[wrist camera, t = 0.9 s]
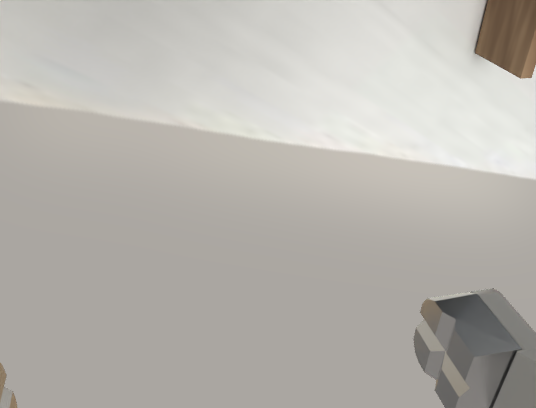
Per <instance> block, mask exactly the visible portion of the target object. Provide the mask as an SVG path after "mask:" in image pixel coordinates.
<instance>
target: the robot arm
mask: <svg viewBox="0 0 536 408" xmlns="http://www.w3.org/2000/svg"><path fill="white" fill-rule="evenodd" d="M420 313H421V315H422V316H423V318H424V320H423V321H422V322H421V323H420V324H419V325H418V326H417V327H416V330H415V335H414V347H415V353H416V356H417V359H418V361H419V363H420V365H421V367H422V369H423V371H424V372H425V373H426V374H428V375H429V376H431V377H433V378H434V379H436V387H435V391H436V393H437V395H438V396H439V398H440V400H441V402H442V403H443V405H444V407H445V408H536V332H535V331H534V330H533V329H532V328H531V327H530V326H529V324H527V322H526V321H525V320H524V319H523V318H522V317H521V315H520V314H519V313H518V312H517V311H516V310H515V309H514V307H513V306H512V305H511V304H510V303H509V302H508V301H507V300H506V298H505V297H504V296H503V295H502V294H501V293H500V292H499V291H497V290H495V289H494V288H493V289H486V290H480V291H473V292H470V293H469V292H465V293H459V294H453V295H446V296H440V297H434V298H428V299H426V300H425V301H424V303H423V304H422V307H421V311H420ZM5 380H6V373H5V370H4V368H3V366H2V364H1V363H0V408H17V402H16V399H15V396H14V393H13V391H11V390H9V389H8V388H6V387H4V384H5Z"/></svg>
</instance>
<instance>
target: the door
mask: <svg viewBox="0 0 536 408" xmlns="http://www.w3.org/2000/svg"><path fill="white" fill-rule="evenodd" d="M475 53H476V54H478V55H480V56H481V57H483V58H485V59H487V60H488V61H490V62H492V63H494V64H496V65H497V66H499V67H501V68H503V69H505V70H506V71H508V72H510V73H512V74H513V75H515V76H517V77H519V78H532V74H533V71H534V68H535V65H536V0H488V2H487V6H486V11H485V15H484V19H483V23H482V27H481V31H480V35H479V39H478V43H477V47H476V51H475Z"/></svg>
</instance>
